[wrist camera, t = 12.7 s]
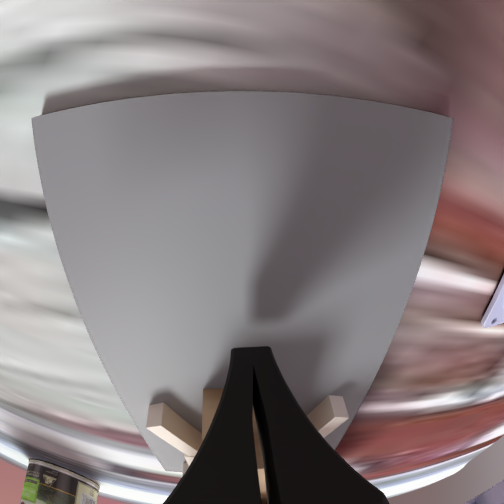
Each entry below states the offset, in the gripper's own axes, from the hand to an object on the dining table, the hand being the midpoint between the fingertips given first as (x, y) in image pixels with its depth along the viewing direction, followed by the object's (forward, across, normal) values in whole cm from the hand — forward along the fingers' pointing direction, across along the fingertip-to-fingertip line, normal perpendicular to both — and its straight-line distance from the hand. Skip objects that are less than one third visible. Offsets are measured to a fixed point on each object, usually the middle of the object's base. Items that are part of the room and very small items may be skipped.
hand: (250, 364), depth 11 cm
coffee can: (+2, +24, +30) cm, 39 cm away
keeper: (+2, 0, +5) cm, 5 cm away
